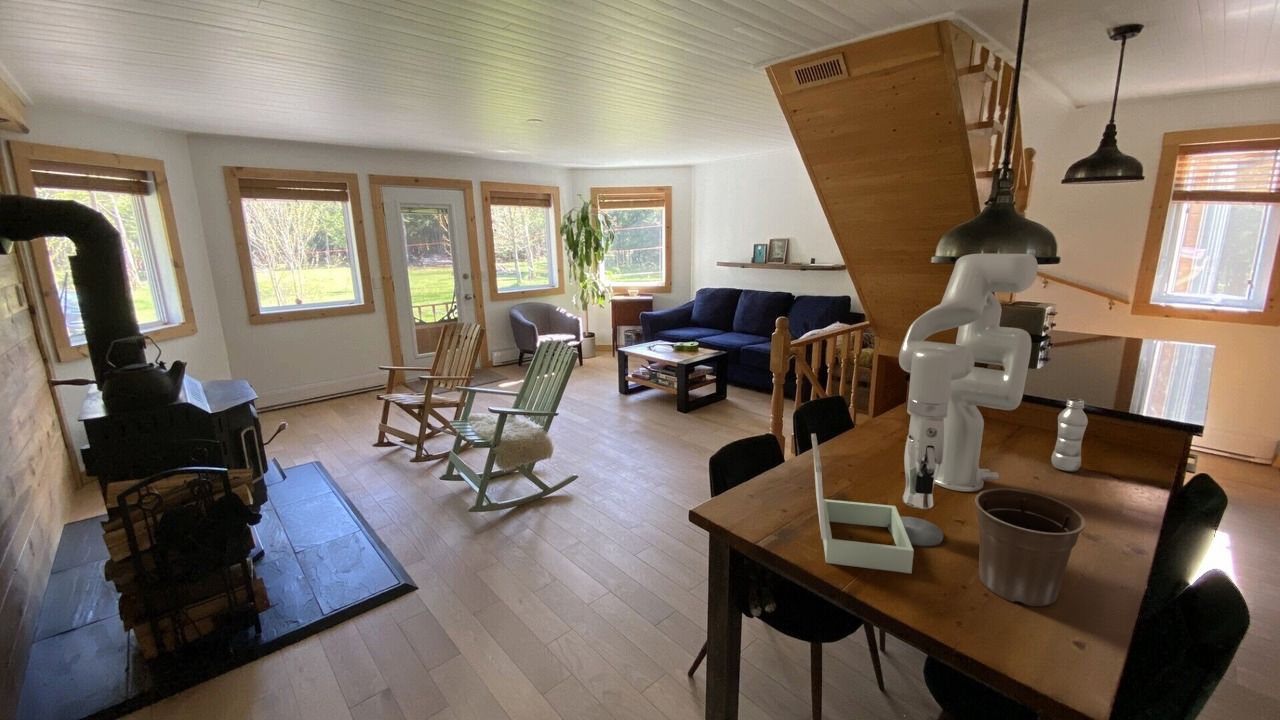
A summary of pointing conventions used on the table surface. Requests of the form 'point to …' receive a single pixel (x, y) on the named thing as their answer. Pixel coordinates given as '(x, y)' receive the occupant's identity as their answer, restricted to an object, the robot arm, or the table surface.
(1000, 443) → the table surface
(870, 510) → the frame
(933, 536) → the grey round coaster
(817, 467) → the lid
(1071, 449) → the plastic bottle
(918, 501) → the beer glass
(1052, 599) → the plant pot
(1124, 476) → the table surface
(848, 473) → the table surface
